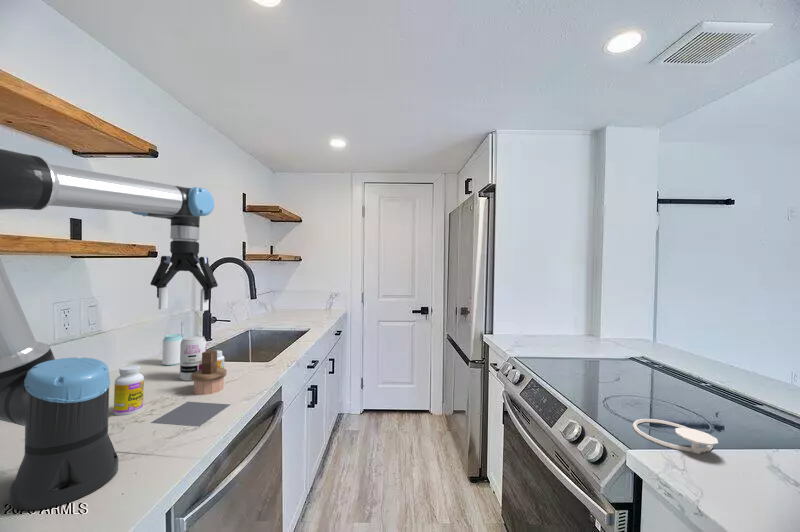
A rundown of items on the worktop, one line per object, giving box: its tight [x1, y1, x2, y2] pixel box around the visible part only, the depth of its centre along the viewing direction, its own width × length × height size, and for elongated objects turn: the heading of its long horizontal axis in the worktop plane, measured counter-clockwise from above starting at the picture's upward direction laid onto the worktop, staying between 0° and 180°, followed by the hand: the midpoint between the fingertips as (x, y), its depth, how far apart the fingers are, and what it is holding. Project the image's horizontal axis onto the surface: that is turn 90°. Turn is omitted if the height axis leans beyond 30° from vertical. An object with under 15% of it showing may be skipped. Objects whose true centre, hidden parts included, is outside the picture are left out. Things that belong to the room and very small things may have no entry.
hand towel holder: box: [632, 418, 719, 455], centre depth 90 cm, size 17×4×21 cm
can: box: [161, 333, 184, 367], centre depth 143 cm, size 7×7×12 cm
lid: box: [191, 349, 227, 382], centre depth 114 cm, size 10×10×8 cm
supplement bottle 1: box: [113, 364, 145, 416], centre depth 98 cm, size 7×7×13 cm
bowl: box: [193, 377, 225, 396], centre depth 114 cm, size 9×9×5 cm
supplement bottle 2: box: [216, 350, 225, 369], centre depth 126 cm, size 6×6×10 cm
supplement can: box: [179, 335, 207, 382], centre depth 127 cm, size 8×8×15 cm
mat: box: [150, 401, 231, 428], centre depth 97 cm, size 14×14×1 cm
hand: (183, 309), depth 104 cm, fingers open, 13 cm apart
